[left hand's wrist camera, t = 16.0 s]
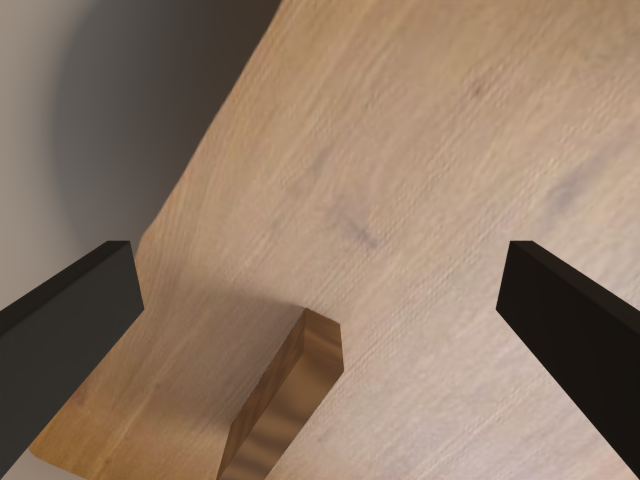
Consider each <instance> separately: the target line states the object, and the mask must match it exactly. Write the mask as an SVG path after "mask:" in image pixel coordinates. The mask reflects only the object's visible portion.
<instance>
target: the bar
mask: <svg viewBox="0 0 640 480" xmlns="http://www.w3.org/2000/svg"><path fill="white" fill-rule="evenodd" d="M343 372H344V364H343V353H342V342H341V331H340V324H339V323H336V322H334V321H332V320H330V319H328V318H326V317H324V316H322V315H320V314H318V313H316V312H313V311H311V310H309V309H307V308H306V309H305V310H304V312H303V314H302V315H301V317H300V318H299V320H298V321H297V323H296V325H295V326H294V328H293V329H292V331H291V332H290V334H289V336H288V337H287V339H286V340H285V342H284V343H283V345H282V347H281V348H280V350H279V351H278V353H277V354H276V356H275V358H274V359H273V361H272V362H271V364H270V365H269V367H268V369H267V370H266V372H265V373H264V375H263V376H262V378H261V380H260V381H259V383H258V384H257V386H256V387H255V389H254V391H253V392H252V394H251V395H250V397H249V398H248V400H247V402H246V403H245V405H244V406H243V408H242V410H241V411H240V413H239V414H238V416H237V417H236V419H235V421H234V422H233V424H232V425H231V427H230V431H229V435H228V438H227V442H226V446H225V449H224V453H223V457H222V460H221V464H220V468H219V471H218V475H217V479H216V480H264V479H265V478H266V476H267V475H268V474H269V472H270V471H271V470H272V468H273V467H274V466H275V464H276V463H277V461H278V460H279V459H280V457H281V456H282V455H283V453H284V452H285V451H286V449H287V448H288V447H289V445H290V444H291V443H292V441H293V440H294V438H295V437H296V436H297V434H298V433H299V432H300V430H301V429H302V428H303V426H304V425H305V424H306V422H307V421H308V419H309V418H310V417H311V415H312V414H313V413H314V411H315V410H316V409H317V407H318V406H319V405H320V403H321V402H322V400H323V399H324V398H325V396H326V395H327V394H328V392H329V391H330V390H331V388H332V387H333V386H334V384H335V383H336V382H337V380H338V379H339V377H340V376H341V375H342V373H343Z"/></svg>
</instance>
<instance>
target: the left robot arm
mask: <svg viewBox="0 0 640 480" xmlns="http://www.w3.org/2000/svg"><path fill="white" fill-rule="evenodd" d="M143 310H144V305H143V301H142V296H141V291H140V286H139V282H138V277H137V272H136V268H135V263H134V258H133V253H132V249H131V244H130V241H107V242H105V243H103V244H102V245H100V246H99V247H97V248H96V249H94V250H93V251H91V252H90V253H88V254H87V255H85V256H84V257H82V258H81V259H79V260H78V261H76V262H75V263H73V264H71V265H70V266H68V267H67V268H65V269H64V270H62V271H61V272H59V273H58V274H56V275H55V276H53V277H52V278H50V279H49V280H47V281H46V282H44V283H42V284H41V285H40V286H38V287H36V288H35V289H33V290H32V291H30V292H29V293H27V294H26V295H24V296H23V297H21V298H20V299H18V300H17V301H15V302H14V303H12V304H11V305H9V306H7V307H6V308H4V309H3V310H1V311H0V480H1V478H2V477H3V476H4V475H5V474H6V473H7V471H8V470H9V469H10V468H11V467H12V465H13V464H14V463H15V462H16V461H17V460H18V458H19V457H20V456H21V455H22V454H23V452H24V451H25V450H26V449H27V448H28V447H29V445H30V444H31V443H32V442H33V441H34V439H35V438H36V437H37V436H38V435H39V433H40V432H41V431H42V430H43V429H44V428H45V426H46V425H47V424H48V423H49V422H50V420H51V419H52V418H53V417H54V416H55V415H56V413H57V412H58V411H59V410H60V409H61V407H62V406H63V405H64V404H65V403H66V402H67V400H68V399H69V398H70V397H71V396H72V394H73V393H74V392H75V391H76V390H77V389H78V387H79V386H80V385H81V384H82V383H83V381H84V380H85V379H86V378H87V377H88V376H89V374H90V373H91V372H92V371H93V370H94V368H95V367H96V366H97V365H98V364H99V362H100V361H101V360H102V359H103V358H104V357H105V355H106V354H107V353H108V352H109V351H110V349H111V348H112V347H113V346H114V345H115V344H116V342H117V341H118V340H119V339H120V338H121V336H122V335H123V334H124V333H125V332H126V331H127V329H128V328H129V327H130V326H131V325H132V323H133V322H134V321H135V320H136V319H137V318H138V316H139V315H140V314H141V313H142V312H143ZM496 310H497V312H498V313H499V314H500V315H501V316H502V318H503V319H504V320H505V321H506V322H507V323H508V325H509V326H510V327H511V328H512V329H513V331H514V332H515V333H516V334H517V335H518V336H519V338H520V339H521V340H522V341H523V342H524V344H525V345H526V346H527V347H528V348H529V349H530V351H531V352H532V353H533V354H534V355H535V357H536V358H537V359H538V360H539V361H540V362H541V364H542V365H543V366H544V367H545V368H546V370H547V371H548V372H549V373H550V374H551V376H552V377H553V378H554V379H555V380H556V381H557V383H558V384H559V385H560V386H561V387H562V389H563V390H564V391H565V392H566V393H567V394H568V396H569V397H570V398H571V399H572V400H573V402H574V403H575V404H576V405H577V406H578V407H579V409H580V410H581V411H582V412H583V413H584V415H585V416H586V417H587V418H588V419H589V420H590V422H591V423H592V424H593V425H594V426H595V428H596V429H597V430H598V431H599V432H600V433H601V435H602V436H603V437H604V438H605V439H606V441H607V442H608V443H609V444H610V445H611V447H612V448H613V449H614V450H615V451H616V452H617V454H618V455H619V456H620V457H621V458H622V460H623V461H624V462H625V463H626V464H627V465H628V467H629V468H630V469H631V470H632V471H633V473H634V474H635V475H636V476H637V477H638V478H639V480H640V311H639V310H637V309H636V308H634V307H633V306H631V305H630V304H628V303H627V302H625V301H623V300H622V299H620V298H619V297H617V296H616V295H614V294H613V293H611V292H610V291H608V290H607V289H605V288H604V287H602V286H601V285H599V284H598V283H596V282H594V281H593V280H591V279H590V278H588V277H587V276H585V275H584V274H582V273H581V272H579V271H578V270H576V269H575V268H573V267H572V266H570V265H569V264H567V263H565V262H564V261H562V260H561V259H559V258H558V257H556V256H555V255H553V254H552V253H550V252H549V251H547V250H546V249H544V248H543V247H541V246H540V245H538V244H537V243H535V242H533V241H510V244H509V249H508V253H507V258H506V263H505V268H504V272H503V277H502V282H501V286H500V291H499V296H498V301H497V305H496Z"/></svg>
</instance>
